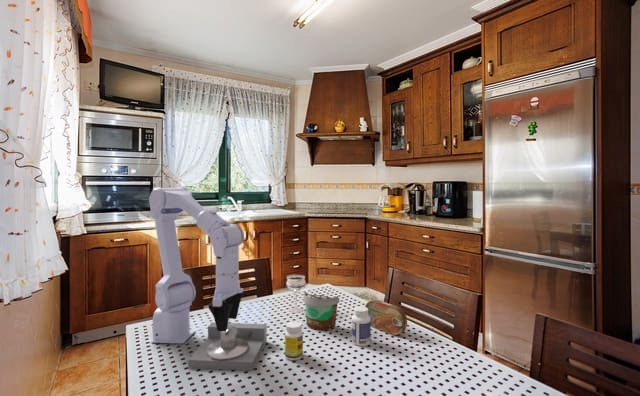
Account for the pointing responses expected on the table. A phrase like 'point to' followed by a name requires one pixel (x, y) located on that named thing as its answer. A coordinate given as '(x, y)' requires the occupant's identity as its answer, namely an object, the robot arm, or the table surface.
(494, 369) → the table surface
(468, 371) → the table surface
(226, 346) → the cylinder
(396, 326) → the tin
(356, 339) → the pill bottle
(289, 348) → the supplement bottle
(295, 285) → the wineglass
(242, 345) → the pan
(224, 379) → the table surface
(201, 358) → the scale
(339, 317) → the table surface
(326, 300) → the food container
